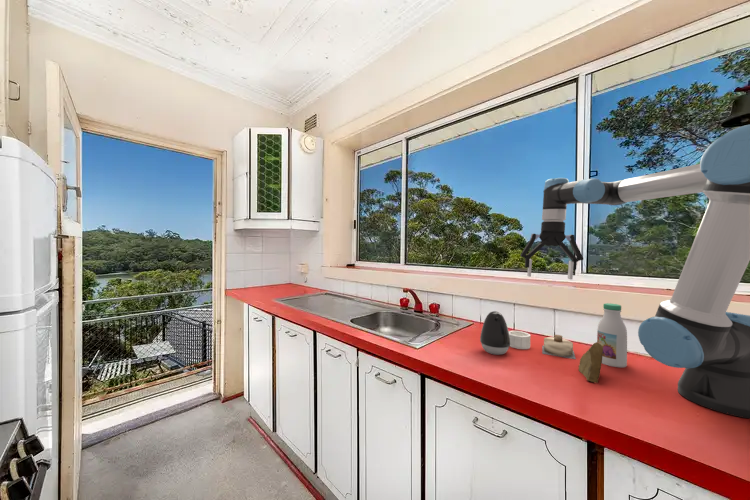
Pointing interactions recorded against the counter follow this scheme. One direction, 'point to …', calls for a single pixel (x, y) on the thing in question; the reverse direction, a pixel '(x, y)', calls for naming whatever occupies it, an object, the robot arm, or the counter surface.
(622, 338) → the milk bottle
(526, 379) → the counter surface
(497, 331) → the black egg-shaped device
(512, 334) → the bowl
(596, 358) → the rock
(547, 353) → the mat
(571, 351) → the lid
